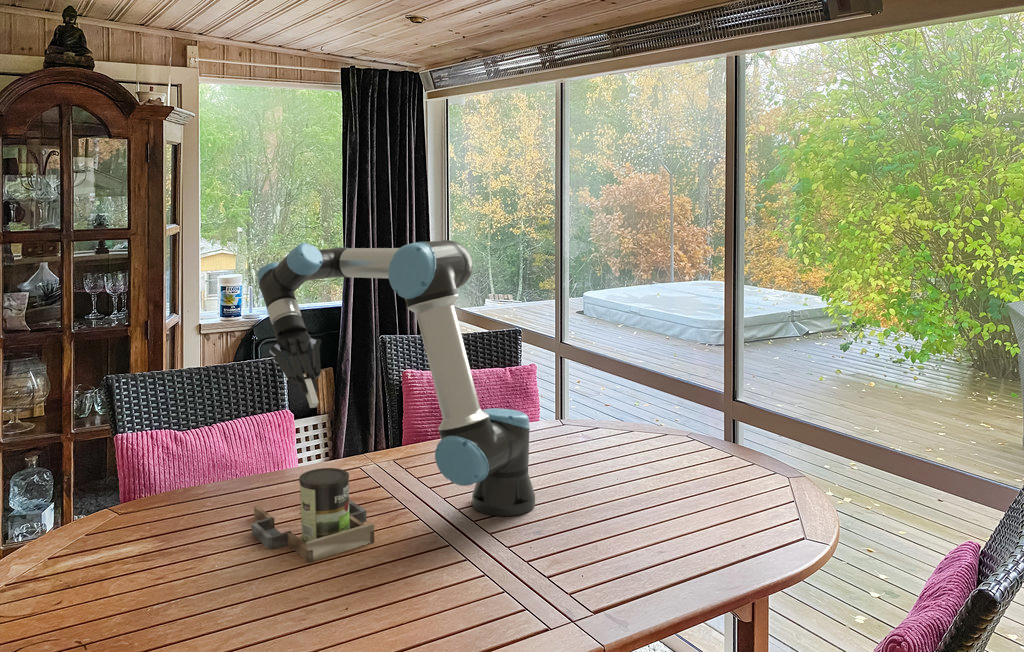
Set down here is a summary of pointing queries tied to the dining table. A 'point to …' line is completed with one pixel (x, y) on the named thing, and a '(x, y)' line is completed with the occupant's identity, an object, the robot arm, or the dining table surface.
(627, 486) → the dining table surface
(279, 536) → the box
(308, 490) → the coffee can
